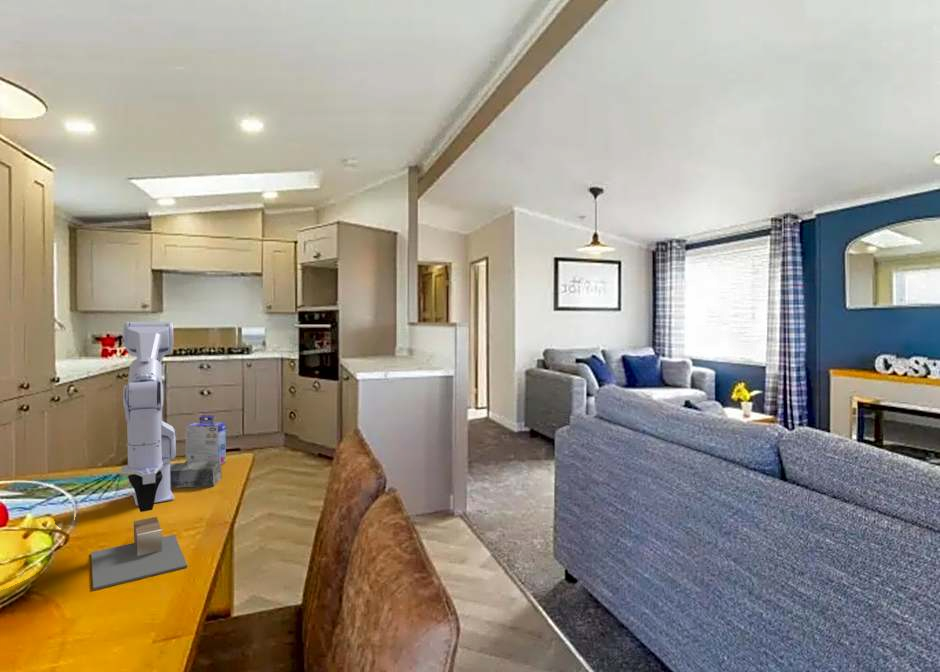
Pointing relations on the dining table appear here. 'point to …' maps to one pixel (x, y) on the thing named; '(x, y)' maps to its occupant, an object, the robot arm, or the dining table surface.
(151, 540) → the walnut block
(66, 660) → the dining table surface
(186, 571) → the dining table surface
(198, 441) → the ink cartridge box
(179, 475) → the stone block
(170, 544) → the mat
